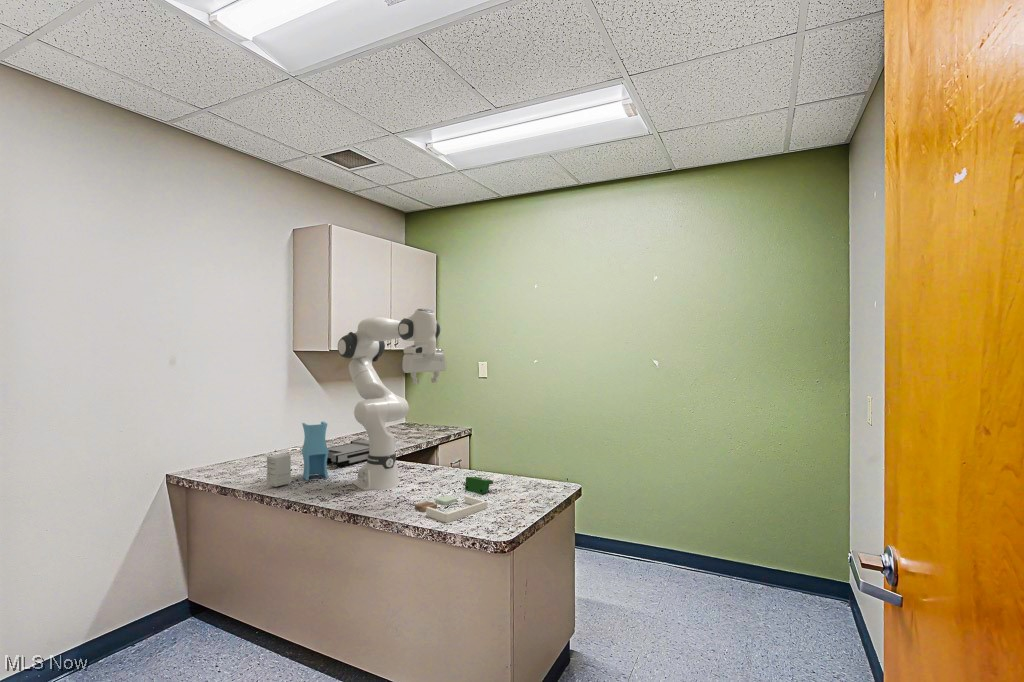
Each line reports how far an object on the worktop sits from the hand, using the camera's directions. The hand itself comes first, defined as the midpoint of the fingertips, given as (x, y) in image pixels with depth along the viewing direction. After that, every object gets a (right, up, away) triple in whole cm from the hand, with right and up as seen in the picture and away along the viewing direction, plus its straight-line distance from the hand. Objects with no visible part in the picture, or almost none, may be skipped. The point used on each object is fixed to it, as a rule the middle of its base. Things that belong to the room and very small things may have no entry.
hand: (425, 383), depth 205 cm
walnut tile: (+2, -47, -12) cm, 49 cm away
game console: (-52, -48, +68) cm, 98 cm away
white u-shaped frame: (+15, -47, -16) cm, 51 cm away
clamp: (+19, -48, +11) cm, 53 cm away
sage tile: (+9, -47, -4) cm, 48 cm away
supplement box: (-69, -47, +23) cm, 87 cm away
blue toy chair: (-58, -47, +35) cm, 83 cm away
